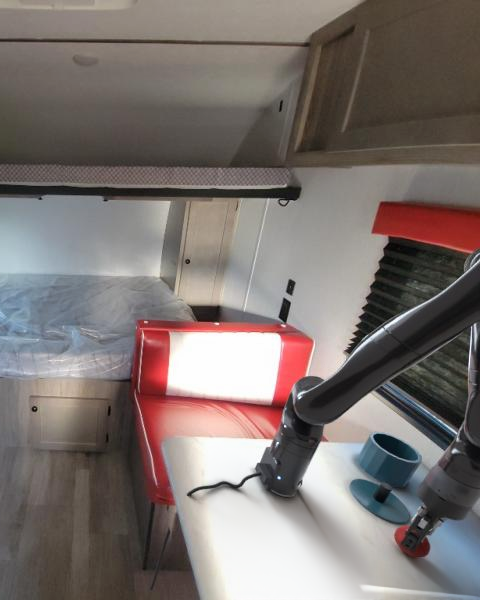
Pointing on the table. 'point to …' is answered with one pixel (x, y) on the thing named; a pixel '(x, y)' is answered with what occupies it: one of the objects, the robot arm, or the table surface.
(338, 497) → the table surface
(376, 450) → the pot
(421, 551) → the onion
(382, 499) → the lid
